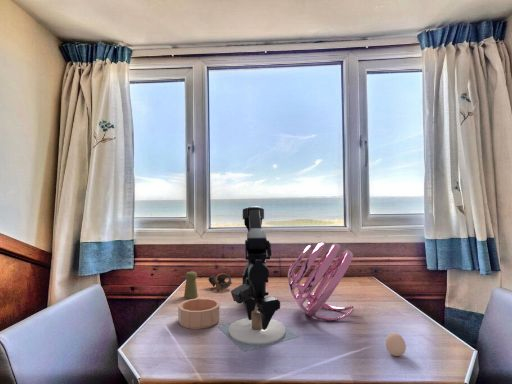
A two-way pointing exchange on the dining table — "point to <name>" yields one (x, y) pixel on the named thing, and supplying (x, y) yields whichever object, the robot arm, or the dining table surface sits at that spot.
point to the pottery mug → (220, 281)
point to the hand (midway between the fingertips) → (257, 324)
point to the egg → (395, 344)
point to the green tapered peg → (190, 285)
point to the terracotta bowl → (199, 313)
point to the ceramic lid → (256, 330)
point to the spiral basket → (306, 289)
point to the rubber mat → (249, 346)
